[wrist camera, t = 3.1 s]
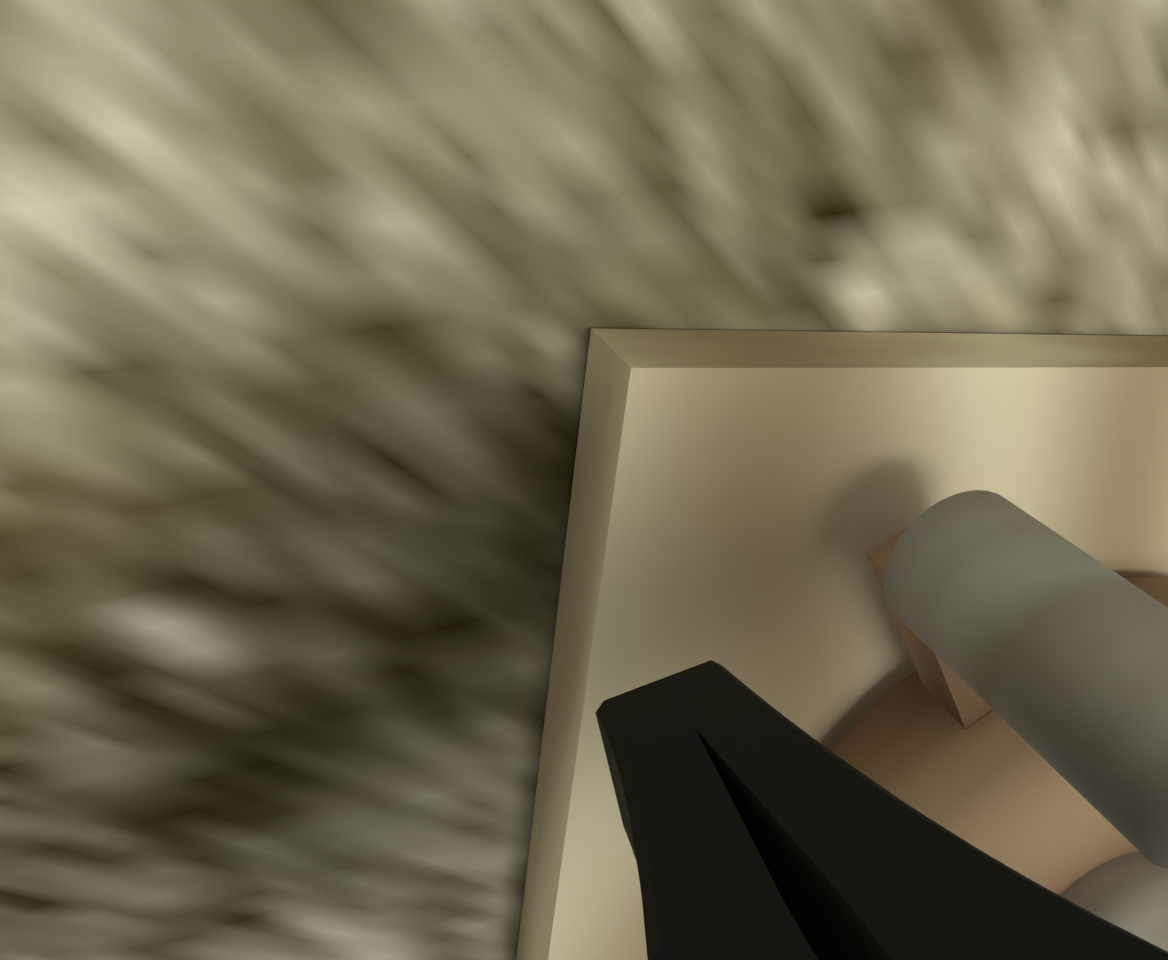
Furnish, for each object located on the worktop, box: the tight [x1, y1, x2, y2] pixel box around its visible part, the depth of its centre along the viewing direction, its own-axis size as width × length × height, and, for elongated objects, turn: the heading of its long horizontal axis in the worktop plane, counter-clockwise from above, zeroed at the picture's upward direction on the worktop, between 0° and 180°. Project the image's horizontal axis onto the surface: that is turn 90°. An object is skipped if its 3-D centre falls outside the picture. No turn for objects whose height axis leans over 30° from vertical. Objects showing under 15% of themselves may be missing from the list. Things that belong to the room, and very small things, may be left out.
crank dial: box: [832, 490, 1168, 952], centre depth 14 cm, size 15×11×5 cm
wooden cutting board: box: [516, 328, 1168, 960], centre depth 18 cm, size 17×18×2 cm
